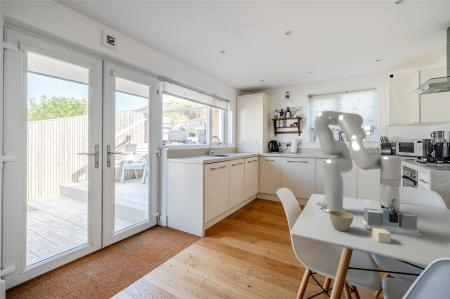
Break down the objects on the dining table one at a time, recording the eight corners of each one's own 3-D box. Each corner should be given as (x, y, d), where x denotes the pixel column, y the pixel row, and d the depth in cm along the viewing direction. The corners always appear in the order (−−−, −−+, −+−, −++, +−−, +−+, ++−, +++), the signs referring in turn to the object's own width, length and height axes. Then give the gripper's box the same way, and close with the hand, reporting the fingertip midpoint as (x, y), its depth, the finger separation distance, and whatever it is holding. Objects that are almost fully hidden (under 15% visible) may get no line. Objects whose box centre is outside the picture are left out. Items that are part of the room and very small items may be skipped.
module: (382, 225, 93) (383, 210, 93) (379, 222, 97) (379, 207, 97) (398, 227, 91) (399, 212, 91) (394, 223, 95) (394, 209, 95)
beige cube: (378, 242, 83) (378, 232, 82) (372, 237, 87) (372, 228, 87) (390, 243, 82) (391, 233, 82) (384, 238, 86) (384, 228, 86)
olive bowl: (353, 235, 88) (353, 219, 88) (327, 230, 93) (327, 215, 93) (353, 227, 96) (353, 212, 96) (329, 223, 102) (329, 209, 101)
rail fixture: (366, 230, 93) (366, 212, 93) (360, 222, 102) (361, 206, 101) (421, 237, 87) (421, 218, 86) (410, 228, 95) (410, 211, 95)
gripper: (373, 178, 103) (372, 211, 103) (388, 185, 86) (386, 224, 87) (391, 179, 100) (390, 213, 101) (409, 186, 84) (408, 227, 85)
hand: (388, 218), depth 94 cm, fingers open, 9 cm apart
